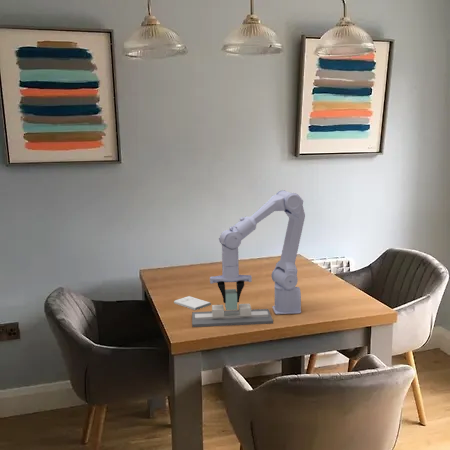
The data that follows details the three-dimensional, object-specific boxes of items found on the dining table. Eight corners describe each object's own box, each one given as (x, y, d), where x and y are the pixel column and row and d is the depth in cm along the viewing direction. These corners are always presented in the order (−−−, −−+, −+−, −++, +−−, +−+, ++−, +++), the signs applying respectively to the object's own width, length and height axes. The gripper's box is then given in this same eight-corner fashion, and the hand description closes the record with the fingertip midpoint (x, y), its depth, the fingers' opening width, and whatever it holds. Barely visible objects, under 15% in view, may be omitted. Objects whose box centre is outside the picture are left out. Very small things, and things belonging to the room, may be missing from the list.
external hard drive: (195, 312, 200) (173, 304, 209) (211, 306, 206) (189, 299, 215) (194, 307, 200) (173, 300, 209) (210, 302, 206) (189, 295, 215)
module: (236, 305, 193) (235, 289, 192) (237, 309, 188) (237, 293, 187) (225, 305, 193) (224, 289, 192) (226, 310, 188) (225, 293, 187)
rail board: (268, 311, 197) (268, 299, 197) (273, 323, 186) (273, 310, 185) (192, 314, 196) (191, 302, 195) (192, 327, 184) (191, 314, 183)
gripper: (249, 260, 191) (250, 297, 194) (209, 262, 190) (210, 298, 193) (252, 266, 184) (252, 303, 187) (209, 267, 184) (210, 305, 186)
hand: (231, 301), depth 190 cm, fingers closed on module, 4 cm apart
